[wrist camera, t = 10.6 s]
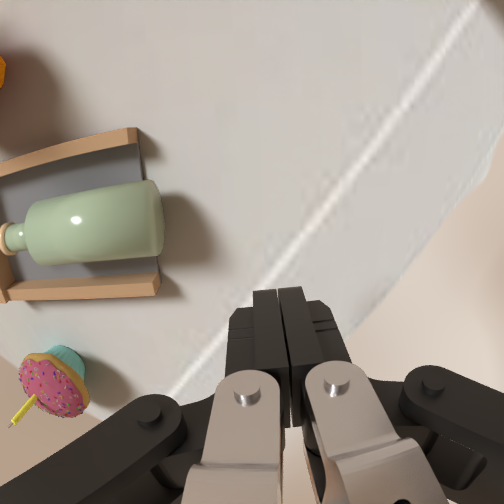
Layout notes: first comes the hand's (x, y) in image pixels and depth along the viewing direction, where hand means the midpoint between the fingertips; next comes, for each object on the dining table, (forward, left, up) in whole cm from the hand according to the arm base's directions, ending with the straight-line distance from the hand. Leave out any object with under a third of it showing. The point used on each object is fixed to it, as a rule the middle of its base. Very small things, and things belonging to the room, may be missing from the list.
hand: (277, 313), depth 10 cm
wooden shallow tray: (+18, 0, -16) cm, 24 cm away
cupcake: (+23, +16, -16) cm, 32 cm away
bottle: (+7, 0, -13) cm, 15 cm away
